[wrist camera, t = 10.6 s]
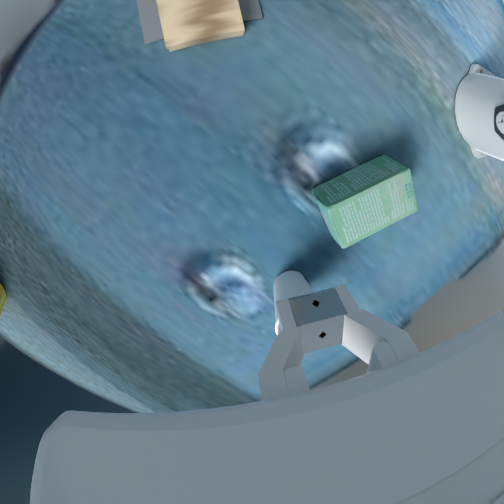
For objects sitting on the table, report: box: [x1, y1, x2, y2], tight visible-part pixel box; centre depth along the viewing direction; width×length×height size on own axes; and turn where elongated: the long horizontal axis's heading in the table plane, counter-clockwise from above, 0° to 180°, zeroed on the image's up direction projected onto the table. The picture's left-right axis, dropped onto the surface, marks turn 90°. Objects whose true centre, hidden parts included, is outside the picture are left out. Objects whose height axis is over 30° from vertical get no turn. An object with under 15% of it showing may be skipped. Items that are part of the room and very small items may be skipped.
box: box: [312, 154, 417, 248], centre depth 38 cm, size 7×14×8 cm, turn 118°
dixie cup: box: [273, 271, 314, 335], centre depth 45 cm, size 8×8×10 cm
